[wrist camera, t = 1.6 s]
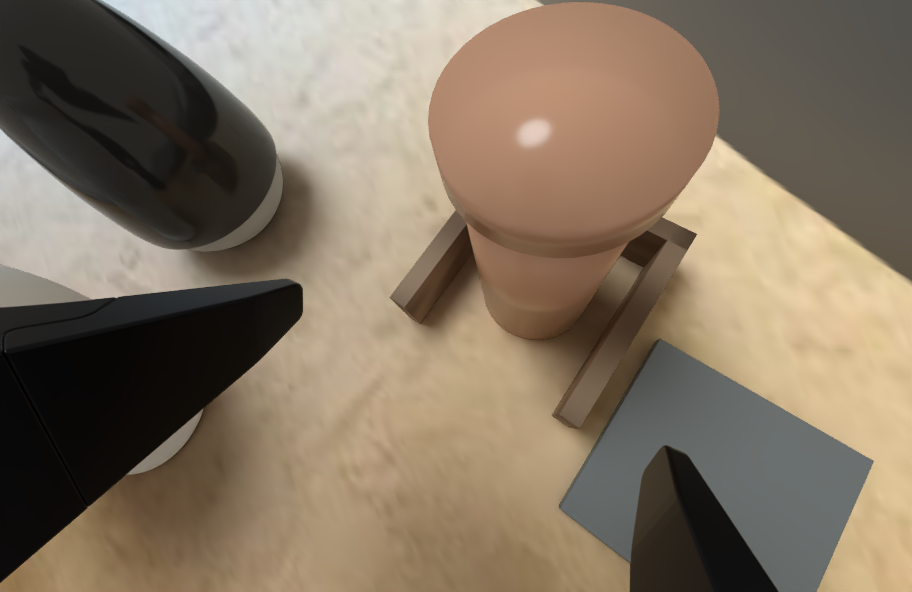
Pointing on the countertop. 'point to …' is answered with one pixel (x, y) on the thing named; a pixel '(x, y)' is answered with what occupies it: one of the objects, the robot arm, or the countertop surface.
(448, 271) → the frame
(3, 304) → the jar
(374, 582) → the countertop surface
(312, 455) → the countertop surface
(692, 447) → the mat
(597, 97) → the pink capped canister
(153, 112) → the pump dispenser
